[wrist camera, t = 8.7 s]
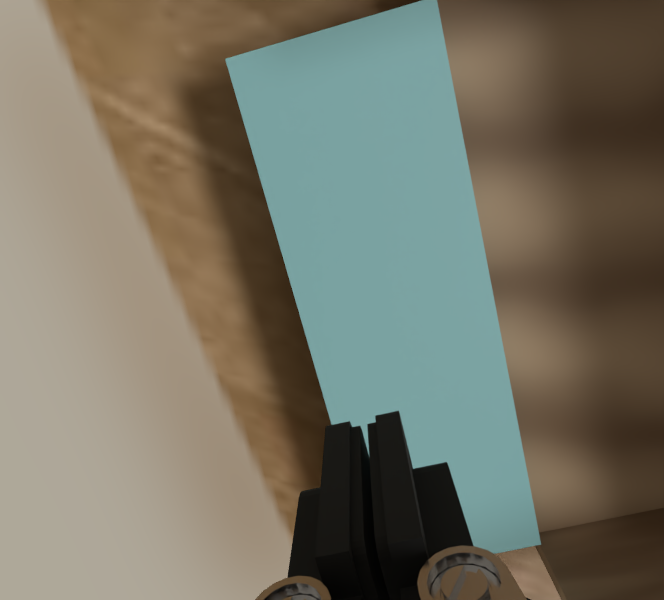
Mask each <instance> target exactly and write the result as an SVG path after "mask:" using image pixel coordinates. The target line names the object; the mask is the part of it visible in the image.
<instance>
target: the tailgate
mask: <svg viewBox="0 0 664 600" xmlns="http://www.w3.org/2000/svg"><path fill="white" fill-rule="evenodd" d="M225 60H226V64H227V67H228V70H229V74H230V77H231V81H232V84H233V88H234V91H235V95H236V98H237V101H238V105H239V108H240V112H241V115H242V119H243V122H244V125H245V129H246V132H247V136H248V139H249V143H250V146H251V150H252V153H253V156H254V160H255V163H256V167H257V170H258V174H259V177H260V180H261V184H262V187H263V191H264V194H265V198H266V201H267V204H268V208H269V211H270V215H271V218H272V222H273V225H274V229H275V232H276V235H277V239H278V242H279V246H280V249H281V253H282V256H283V259H284V263H285V266H286V270H287V273H288V277H289V280H290V284H291V287H292V290H293V294H294V297H295V301H296V304H297V308H298V311H299V314H300V318H301V321H302V325H303V328H304V332H305V335H306V338H307V342H308V345H309V349H310V352H311V356H312V359H313V363H314V366H315V369H316V373H317V376H318V380H319V383H320V387H321V390H322V393H323V397H324V400H325V404H326V407H327V411H328V414H329V417H330V421H331V424H332V425H334V424H339V423H343V422H348V421H350V422H351V425H352V427H355V426H361V429H362V432H363V436H364V439H365V443H366V447H367V451H368V454H369V444H368V428H367V424H370V423H374V422H376V420H375V416H376V415H381V414H385V413H390V412H395V411H399V413H400V417H401V421H402V425H403V429H404V433H405V437H406V441H407V445H408V449H409V453H410V458H411V462H412V466H413V469H414V468H419V467H424V466H429V465H434V464H439V463H444V462H447V463H448V466H449V469H450V472H451V475H452V479H453V482H454V485H455V488H456V491H457V495H458V498H459V501H460V504H461V507H462V511H463V514H464V517H465V520H466V523H467V527H468V530H469V533H470V536H471V539H472V542H473V546H476V547H479V548H482V549H486V550H488V551H490V552H492V553H493V554H495V553H501V552H506V551H511V550H516V549H521V548H526V547H531V546H536V545H541V541H540V536H539V530H538V525H537V520H536V515H535V509H534V504H533V499H532V494H531V489H530V483H529V478H528V473H527V468H526V463H525V457H524V452H523V447H522V442H521V436H520V431H519V426H518V421H517V416H516V410H515V405H514V400H513V395H512V389H511V384H510V379H509V374H508V369H507V363H506V358H505V353H504V348H503V342H502V337H501V332H500V327H499V322H498V316H497V311H496V306H495V301H494V295H493V290H492V285H491V280H490V275H489V269H488V264H487V259H486V254H485V248H484V243H483V238H482V233H481V228H480V222H479V217H478V212H477V207H476V201H475V196H474V191H473V186H472V181H471V175H470V170H469V165H468V160H467V154H466V149H465V144H464V139H463V134H462V128H461V123H460V118H459V113H458V107H457V102H456V97H455V92H454V87H453V81H452V76H451V71H450V66H449V60H448V55H447V50H446V45H445V40H444V34H443V29H442V24H441V19H440V13H439V8H438V3H437V0H422V1H418V2H415V3H412V4H408V5H405V6H401V7H398V8H395V9H391V10H388V11H385V12H381V13H378V14H375V15H371V16H368V17H364V18H361V19H358V20H354V21H351V22H348V23H344V24H341V25H337V26H334V27H331V28H327V29H324V30H321V31H317V32H314V33H311V34H307V35H304V36H300V37H297V38H294V39H290V40H287V41H284V42H280V43H277V44H273V45H270V46H267V47H263V48H260V49H257V50H253V51H250V52H247V53H243V54H240V55H236V56H233V57H230V58H226V59H225Z"/></svg>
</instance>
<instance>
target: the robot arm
mask: <svg viewBox="0 0 664 600" xmlns="http://www.w3.org/2000/svg"><path fill="white" fill-rule="evenodd" d="M375 420H376V422H374V423H370V424H367V428H368V444H369V454H368V451H367V447H366V443H365V439H364V436H363V432H362V429H361V426H355V427H352V425H351V422H350V421H348V422H343V423H339V424H334V425H329V426H326V429H325V441H324V453H323V465H322V477H321V487H320V488H316V489H311V490H306V491H302V492H301V493H300V496H299V501H298V508H297V515H296V522H295V529H294V536H293V543H292V550H291V557H290V564H289V571H288V578H285V579H283V580H281V581H278V582H276V583H274V584H272V585H271V586H270V587H268V588H267V589H265V590H264V591H263V592H262V593H261V594H260V595H259V596H258V597H257V598H256V599H255V600H530V599H528V598H526V597H525V596H524V594H523V593H522V591H521V589H520V587H519V586H518V584H517V582H516V581H515V579H514V577H513V576H512V574H511V572H510V571H509V569H508V567H507V566H506V565H505V564H504V562H503V561H502V560H501V559H500V558H499V557H498V556H496V555H495V554H493V553H492V552H490V551H488V550H486V549H482V548H479V547H476V546H473V542H472V539H471V536H470V533H469V530H468V527H467V523H466V520H465V517H464V514H463V511H462V507H461V504H460V501H459V498H458V495H457V491H456V488H455V485H454V482H453V479H452V475H451V472H450V469H449V466H448V463H447V462H444V463H439V464H434V465H429V466H424V467H419V468H414V469H413V466H412V462H411V458H410V453H409V449H408V445H407V441H406V437H405V433H404V429H403V425H402V421H401V417H400V413H399V411H395V412H390V413H385V414H381V415H376V416H375Z"/></svg>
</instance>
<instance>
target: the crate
mask: <svg viewBox="0 0 664 600" xmlns="http://www.w3.org/2000/svg"><path fill="white" fill-rule="evenodd" d="M437 3H438V8H439V13H440V19H441V24H442V29H443V34H444V40H445V45H446V50H447V55H448V60H449V66H450V71H451V76H452V81H453V87H454V92H455V97H456V102H457V107H458V113H459V118H460V123H461V128H462V134H463V139H464V144H465V149H466V154H467V160H468V165H469V170H470V175H471V181H472V186H473V191H474V196H475V201H476V207H477V212H478V217H479V222H480V228H481V233H482V238H483V243H484V248H485V254H486V259H487V264H488V269H489V275H490V280H491V285H492V290H493V295H494V301H495V306H496V311H497V316H498V322H499V327H500V332H501V337H502V342H503V348H504V353H505V358H506V363H507V369H508V374H509V379H510V384H511V389H512V395H513V400H514V405H515V410H516V416H517V421H518V426H519V431H520V436H521V442H522V447H523V452H524V457H525V463H526V468H527V473H528V478H529V483H530V489H531V494H532V499H533V504H534V509H535V515H536V520H537V525H538V530H539V536H540V541H541V545H536V548H537V550H538V553H539V555H540V557H541V559H542V561H543V563H544V565H545V567H546V569H547V571H548V573H549V575H550V577H551V579H552V581H553V583H554V585H555V587H556V589H557V591H558V593H559V595H560V597H561V599H562V600H664V0H437Z"/></svg>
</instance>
